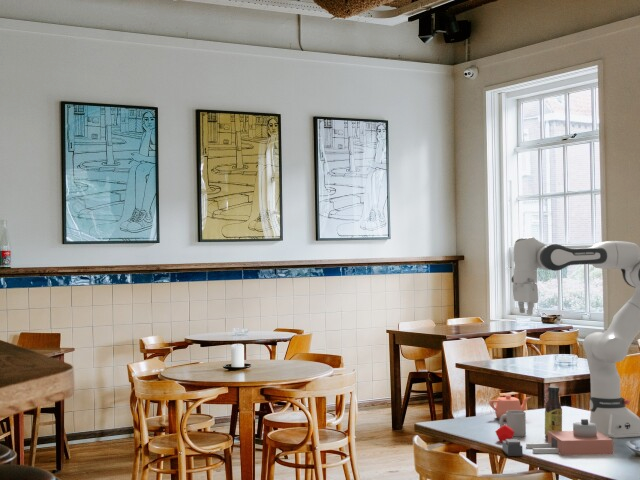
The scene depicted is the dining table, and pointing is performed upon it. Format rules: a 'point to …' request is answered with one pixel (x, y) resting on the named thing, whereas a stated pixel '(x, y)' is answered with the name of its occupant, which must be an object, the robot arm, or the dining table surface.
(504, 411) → the teapot
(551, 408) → the sauce bottle
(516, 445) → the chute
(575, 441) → the pink box with knob
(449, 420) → the dining table surface
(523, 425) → the cup
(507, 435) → the red pentagonal block
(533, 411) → the dining table surface
